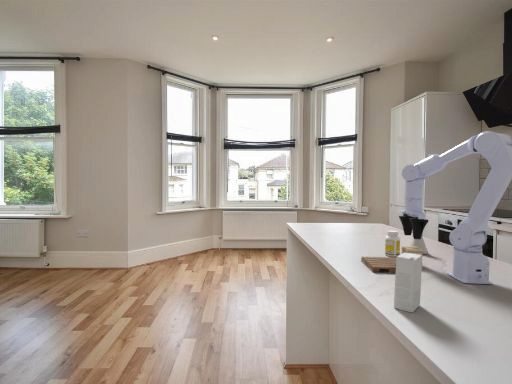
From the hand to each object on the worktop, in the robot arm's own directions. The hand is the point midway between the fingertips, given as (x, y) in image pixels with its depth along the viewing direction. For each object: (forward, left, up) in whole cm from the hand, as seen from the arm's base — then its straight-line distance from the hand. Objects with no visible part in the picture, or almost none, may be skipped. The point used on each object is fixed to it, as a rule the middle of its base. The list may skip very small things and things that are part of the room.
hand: (412, 237), depth 110 cm
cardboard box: (0, 0, -10) cm, 10 cm away
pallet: (-5, +11, -10) cm, 15 cm away
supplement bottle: (+13, +2, -10) cm, 17 cm away
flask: (+20, -11, -10) cm, 25 cm away
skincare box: (-40, +17, -10) cm, 45 cm away
